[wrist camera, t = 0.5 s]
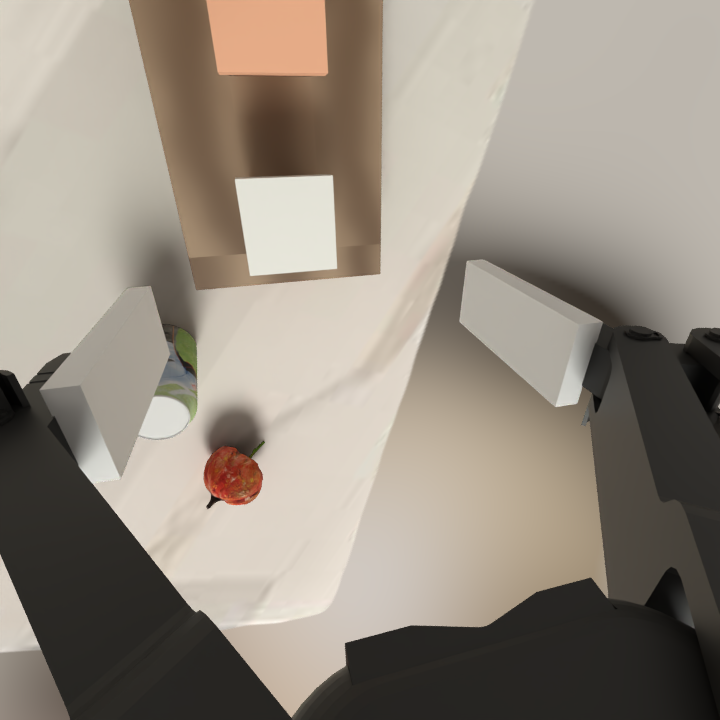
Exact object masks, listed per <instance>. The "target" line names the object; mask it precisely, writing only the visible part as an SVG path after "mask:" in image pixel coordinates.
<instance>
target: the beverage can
mask: <svg viewBox="0 0 720 720" xmlns="http://www.w3.org/2000/svg"><path fill="white" fill-rule="evenodd" d="M162 327H163V331H164V334H165V338H166V341H167V345H168V348H169V352H170V356H169V358H168V361H167V363H166V366H165V368H164V371H163V373H162V376H161V378H160V381H159V383H158V386H157V389H156V391H155V394H154V396H153V399H152V401H151V404H150V406H149V409H148V411H147V414H146V416H145V419H144V421H143V424H142V427H141V429H140V432H139V434H138V437H141V438H144V439H148V440H164V439H169V438H172V437H174V436H177V435H178V434H180V433H181V432H183V431H184V430H185V429H186V428H187V426H188V424H189V423H190V422H191V421H192V419H193V418H194V416H195V414H196V411H197V347H196V343H195V341H194V339H193V338H192V336H191V335H190V334H189V333H187V332H186V331H185V330H183V329H181V328H179V327H176V326H173V325H166V324H162Z"/></svg>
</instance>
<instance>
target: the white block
mask: <svg viewBox="0 0 720 720" xmlns="http://www.w3.org/2000/svg"><path fill="white" fill-rule="evenodd" d="M235 184H236V190H237V197H238V203H239V209H240V216H241V222H242V228H243V234H244V241H245V247H246V253H247V260H248V266H249V272H250V276H257V275H269V274H281V273H293V272H305V271H317V270H329V269H337V254H336V233H335V211H334V190H333V175H331V174H320V175H293V176H266V177H238V178H235Z"/></svg>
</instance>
